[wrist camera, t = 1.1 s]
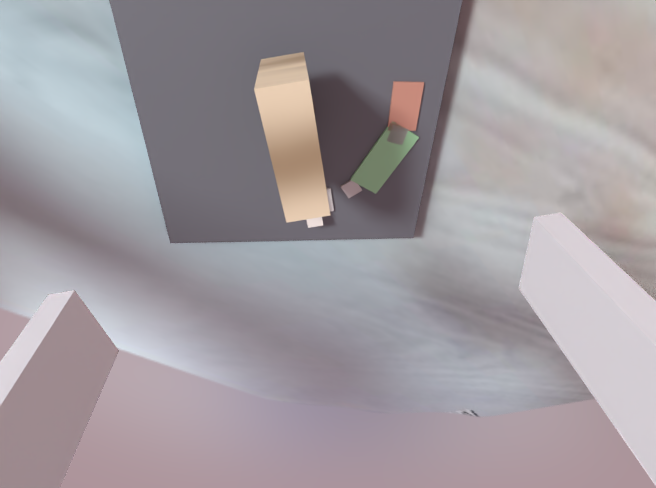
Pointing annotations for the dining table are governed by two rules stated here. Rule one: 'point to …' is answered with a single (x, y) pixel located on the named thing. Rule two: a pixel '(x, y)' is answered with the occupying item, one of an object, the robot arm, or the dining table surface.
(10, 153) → the dining table surface
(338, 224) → the dial board
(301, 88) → the beige boxy piece
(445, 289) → the dining table surface
